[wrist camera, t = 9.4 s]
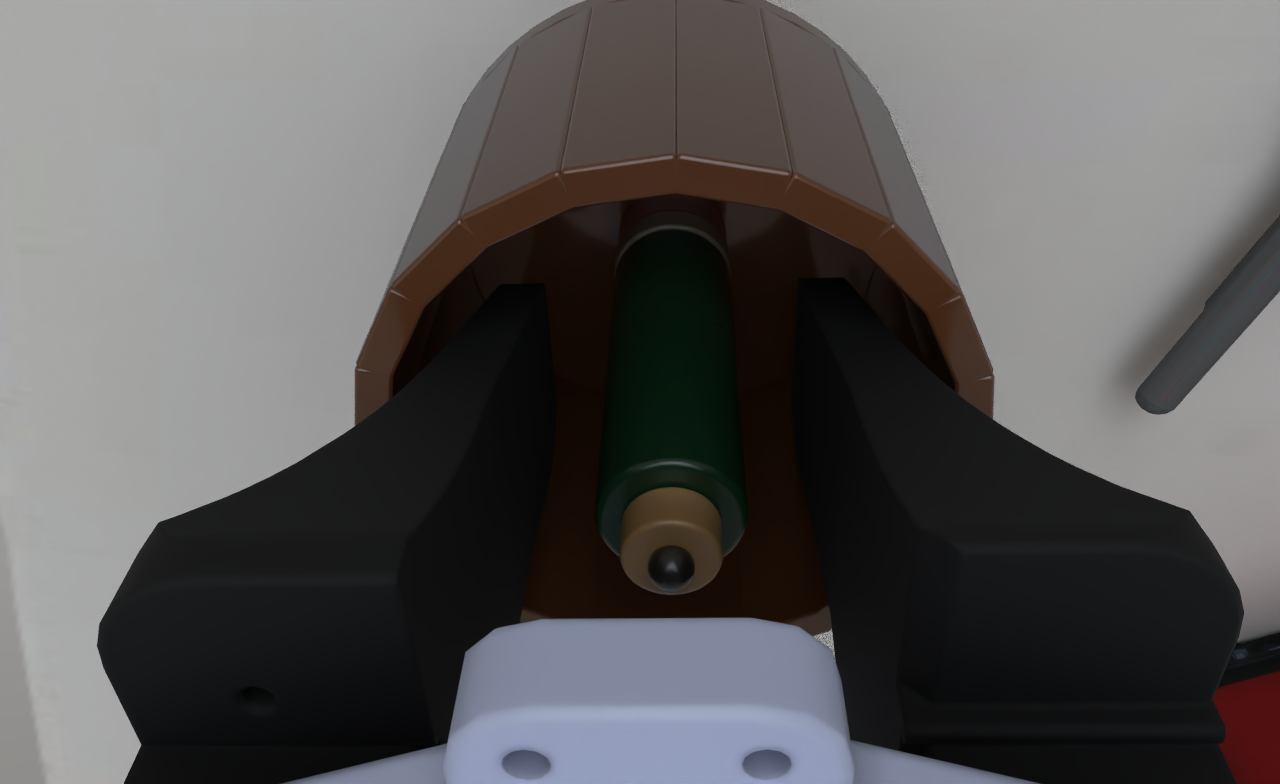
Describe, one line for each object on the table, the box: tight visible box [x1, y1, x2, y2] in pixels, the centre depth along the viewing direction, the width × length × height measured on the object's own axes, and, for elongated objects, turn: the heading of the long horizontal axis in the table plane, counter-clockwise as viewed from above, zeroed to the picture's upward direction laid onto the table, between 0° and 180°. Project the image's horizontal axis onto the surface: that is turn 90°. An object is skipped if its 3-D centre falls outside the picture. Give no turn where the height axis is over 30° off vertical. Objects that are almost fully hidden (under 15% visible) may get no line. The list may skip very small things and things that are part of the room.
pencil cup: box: [355, 0, 994, 636], centre depth 15 cm, size 8×8×6 cm
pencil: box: [595, 194, 748, 595], centre depth 14 cm, size 2×2×8 cm
